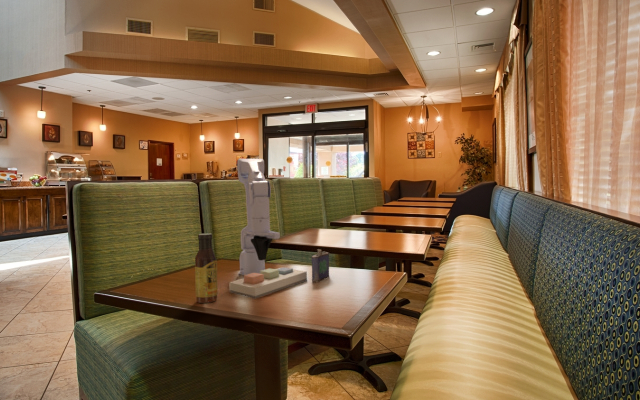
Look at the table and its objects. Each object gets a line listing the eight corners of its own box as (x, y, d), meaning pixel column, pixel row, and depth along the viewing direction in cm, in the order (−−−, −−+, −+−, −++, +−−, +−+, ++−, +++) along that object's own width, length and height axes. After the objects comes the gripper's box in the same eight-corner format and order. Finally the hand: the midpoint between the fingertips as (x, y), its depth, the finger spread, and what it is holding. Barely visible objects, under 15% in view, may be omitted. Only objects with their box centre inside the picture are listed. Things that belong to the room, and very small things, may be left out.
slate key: (275, 277, 128) (275, 269, 128) (284, 275, 131) (283, 267, 131) (284, 279, 125) (284, 271, 125) (293, 276, 128) (293, 268, 128)
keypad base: (229, 292, 117) (229, 282, 117) (281, 276, 136) (281, 267, 136) (255, 298, 109) (254, 288, 109) (306, 280, 128) (306, 271, 128)
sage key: (260, 279, 122) (260, 271, 122) (269, 276, 126) (269, 268, 125) (269, 281, 119) (269, 272, 119) (279, 278, 123) (278, 269, 123)
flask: (316, 283, 125) (315, 251, 125) (309, 281, 127) (308, 251, 126) (331, 276, 133) (330, 247, 132) (324, 276, 134) (323, 246, 134)
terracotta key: (244, 284, 117) (243, 275, 116) (254, 281, 120) (254, 272, 120) (253, 286, 114) (253, 277, 114) (263, 283, 117) (263, 274, 117)
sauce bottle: (211, 304, 105) (208, 235, 104) (191, 303, 107) (188, 235, 106) (222, 297, 112) (219, 232, 111) (203, 296, 113) (200, 232, 112)
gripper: (236, 218, 120) (237, 259, 121) (267, 219, 111) (269, 264, 112) (252, 216, 126) (253, 255, 126) (283, 217, 117) (285, 260, 118)
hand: (262, 259), depth 120 cm, fingers closed
